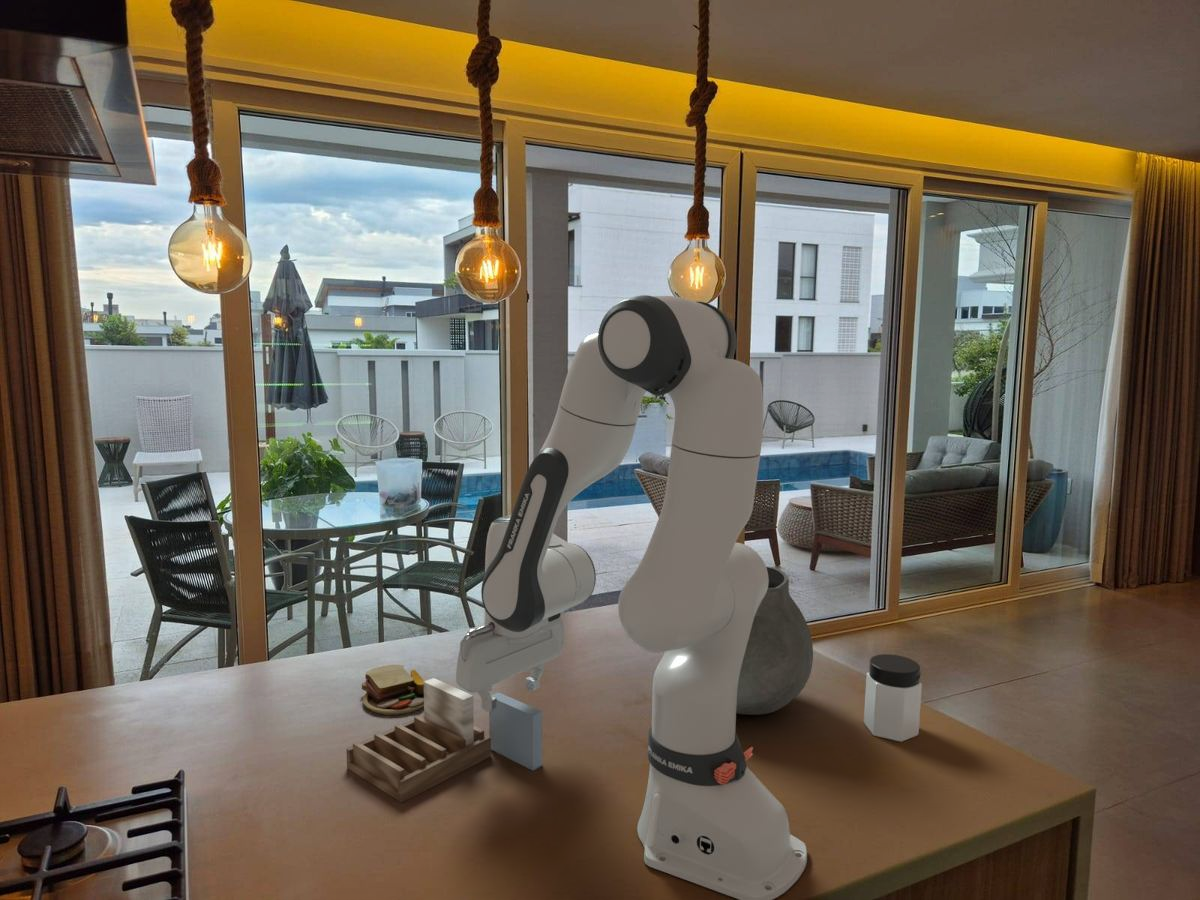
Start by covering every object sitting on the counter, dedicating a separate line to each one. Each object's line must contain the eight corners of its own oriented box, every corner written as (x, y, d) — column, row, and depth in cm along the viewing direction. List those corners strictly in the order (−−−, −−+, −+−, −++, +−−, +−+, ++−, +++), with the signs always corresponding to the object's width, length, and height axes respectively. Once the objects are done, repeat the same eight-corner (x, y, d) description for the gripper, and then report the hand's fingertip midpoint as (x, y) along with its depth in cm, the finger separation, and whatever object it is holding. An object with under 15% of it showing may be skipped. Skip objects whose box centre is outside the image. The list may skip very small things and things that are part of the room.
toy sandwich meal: (373, 724, 136) (373, 698, 135) (354, 694, 147) (353, 670, 146) (443, 707, 142) (442, 682, 141) (419, 680, 153) (418, 656, 153)
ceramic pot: (699, 668, 160) (702, 549, 157) (821, 691, 150) (827, 564, 146) (656, 719, 138) (659, 582, 135) (795, 751, 128) (802, 603, 124)
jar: (925, 742, 131) (930, 674, 129) (877, 742, 131) (881, 674, 129) (903, 717, 140) (907, 652, 138) (858, 717, 140) (861, 652, 138)
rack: (490, 756, 125) (490, 695, 124) (401, 802, 112) (400, 735, 111) (435, 727, 134) (434, 671, 133) (347, 768, 121) (344, 705, 120)
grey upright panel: (542, 765, 123) (542, 711, 121) (533, 770, 121) (533, 715, 120) (498, 744, 129) (498, 692, 128) (489, 748, 127) (489, 696, 126)
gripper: (475, 639, 112) (474, 729, 114) (571, 604, 128) (568, 684, 130) (447, 627, 116) (446, 714, 118) (543, 595, 132) (541, 672, 134)
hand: (511, 698), depth 124 cm, fingers open, 8 cm apart
